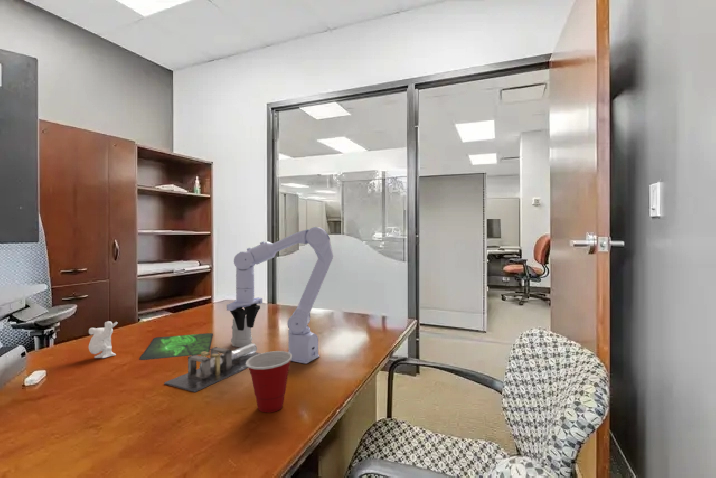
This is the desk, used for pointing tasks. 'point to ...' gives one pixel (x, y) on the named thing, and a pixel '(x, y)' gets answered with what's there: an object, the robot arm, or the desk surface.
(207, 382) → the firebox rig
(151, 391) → the desk surface
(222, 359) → the tube
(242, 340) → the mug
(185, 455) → the desk surface
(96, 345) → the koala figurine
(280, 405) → the plastic cup
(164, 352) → the mouse mat
